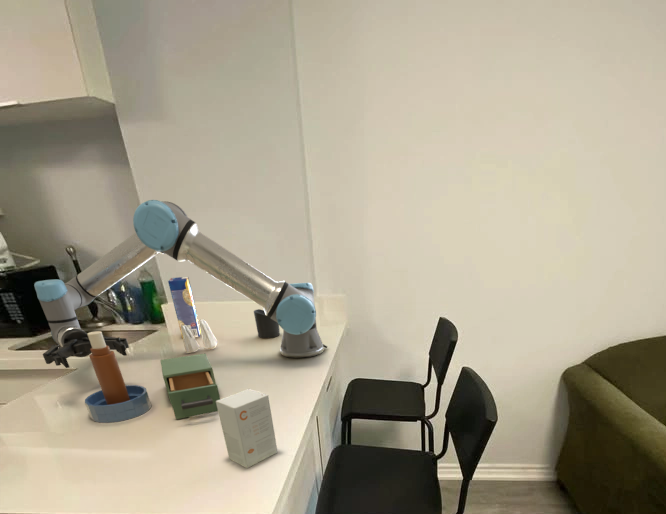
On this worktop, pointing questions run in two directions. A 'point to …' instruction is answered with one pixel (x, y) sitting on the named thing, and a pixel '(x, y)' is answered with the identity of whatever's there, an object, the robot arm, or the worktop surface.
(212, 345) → the shaker set
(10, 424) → the worktop surface
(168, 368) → the cabinet
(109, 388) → the bottle
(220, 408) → the small box
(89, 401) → the bowl
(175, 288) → the beverage box
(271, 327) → the pen holder
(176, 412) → the drawer
